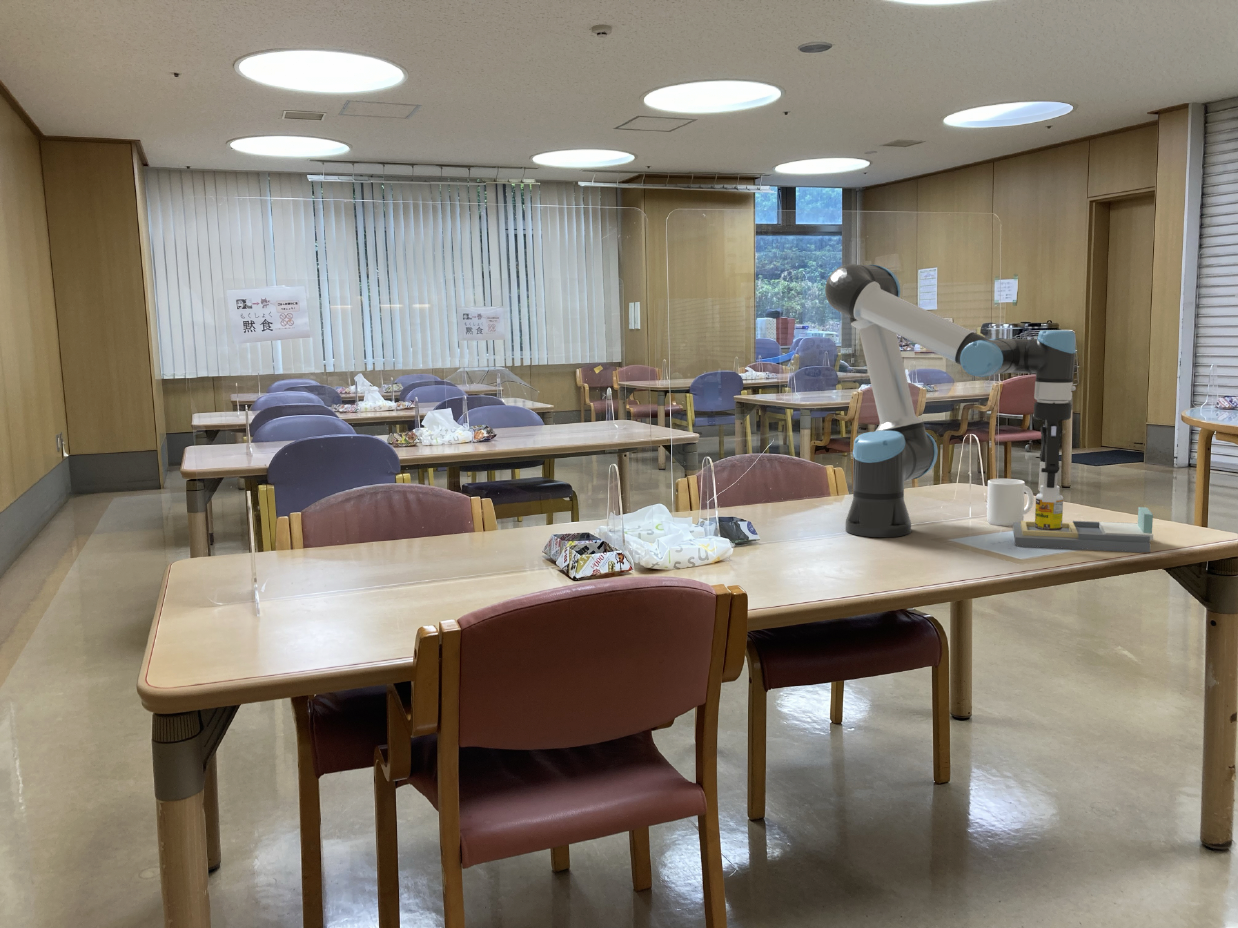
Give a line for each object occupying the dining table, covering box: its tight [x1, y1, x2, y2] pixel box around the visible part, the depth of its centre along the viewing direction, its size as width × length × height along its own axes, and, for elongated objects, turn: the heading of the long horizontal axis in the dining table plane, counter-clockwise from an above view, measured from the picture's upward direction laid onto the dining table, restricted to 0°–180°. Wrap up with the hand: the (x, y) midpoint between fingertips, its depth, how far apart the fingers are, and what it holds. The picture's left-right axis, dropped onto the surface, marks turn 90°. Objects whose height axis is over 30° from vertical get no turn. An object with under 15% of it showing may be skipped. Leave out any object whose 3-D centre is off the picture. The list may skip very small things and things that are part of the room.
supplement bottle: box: [1034, 485, 1064, 531], centre depth 211 cm, size 6×6×10 cm
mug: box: [986, 478, 1035, 527], centre depth 230 cm, size 12×8×10 cm
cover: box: [1098, 506, 1154, 541], centre depth 206 cm, size 9×11×5 cm
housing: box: [1012, 520, 1151, 553], centre depth 209 cm, size 26×16×3 cm, turn 69°
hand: (1046, 496), depth 211 cm, fingers open, 13 cm apart
